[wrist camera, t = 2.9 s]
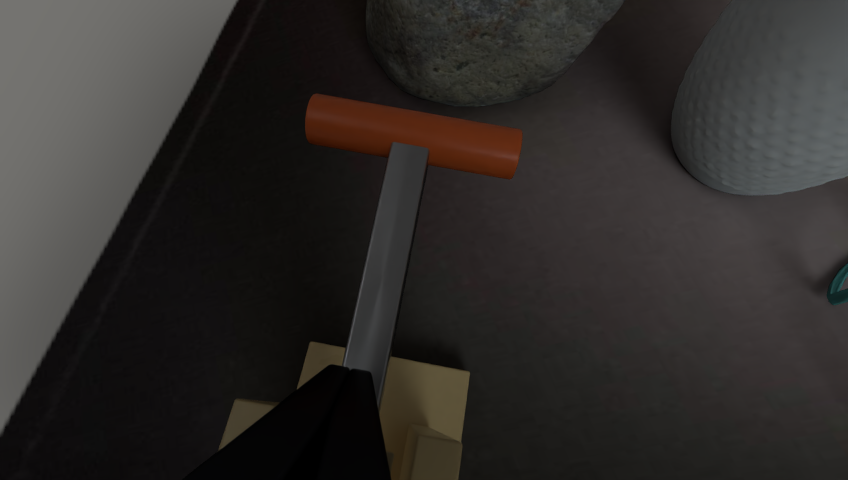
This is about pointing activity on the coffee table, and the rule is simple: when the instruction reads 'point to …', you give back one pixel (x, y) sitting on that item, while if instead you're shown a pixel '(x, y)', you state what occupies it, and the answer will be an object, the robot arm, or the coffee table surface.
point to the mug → (767, 98)
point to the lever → (400, 201)
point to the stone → (481, 45)
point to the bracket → (395, 413)
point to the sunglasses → (838, 288)
